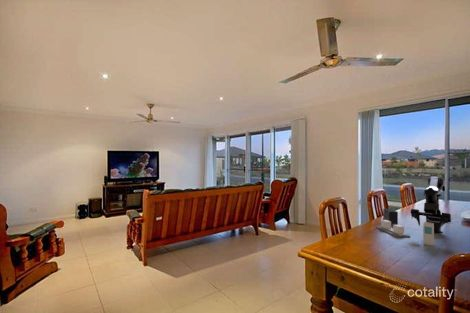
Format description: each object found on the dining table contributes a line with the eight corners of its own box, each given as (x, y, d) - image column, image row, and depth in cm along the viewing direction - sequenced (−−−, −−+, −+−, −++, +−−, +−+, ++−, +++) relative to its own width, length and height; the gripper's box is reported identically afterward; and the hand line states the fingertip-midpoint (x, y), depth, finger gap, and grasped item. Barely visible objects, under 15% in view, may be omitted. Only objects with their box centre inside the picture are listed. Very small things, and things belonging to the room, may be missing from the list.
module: (424, 242, 140) (424, 221, 140) (433, 243, 137) (433, 223, 137) (423, 243, 137) (423, 223, 137) (433, 245, 134) (432, 224, 134)
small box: (398, 225, 173) (398, 211, 173) (388, 225, 175) (388, 211, 175) (392, 222, 184) (391, 208, 184) (382, 221, 185) (382, 208, 185)
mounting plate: (388, 227, 168) (388, 219, 168) (410, 237, 148) (410, 227, 148) (376, 228, 168) (376, 219, 168) (396, 237, 148) (396, 227, 148)
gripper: (411, 196, 149) (407, 216, 141) (450, 199, 136) (449, 222, 128) (413, 206, 155) (410, 226, 147) (451, 211, 141) (450, 233, 133)
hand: (429, 226), depth 139 cm, fingers open, 9 cm apart
